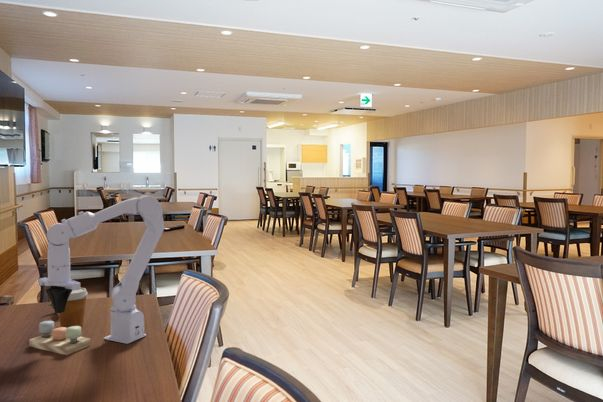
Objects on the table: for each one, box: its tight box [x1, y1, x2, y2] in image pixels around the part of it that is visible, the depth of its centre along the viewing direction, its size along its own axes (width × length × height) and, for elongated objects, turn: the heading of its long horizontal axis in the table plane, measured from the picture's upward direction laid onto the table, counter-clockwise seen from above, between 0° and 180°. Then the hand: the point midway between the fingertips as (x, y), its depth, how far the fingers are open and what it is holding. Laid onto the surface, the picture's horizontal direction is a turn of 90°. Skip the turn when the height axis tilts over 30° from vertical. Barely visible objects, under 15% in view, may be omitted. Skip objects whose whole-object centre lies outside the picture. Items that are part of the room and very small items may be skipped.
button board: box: [28, 332, 92, 356], centre depth 130 cm, size 15×8×2 cm, turn 66°
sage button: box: [66, 326, 82, 344], centre depth 128 cm, size 4×4×4 cm
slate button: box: [38, 320, 55, 338], centre depth 132 cm, size 4×4×4 cm
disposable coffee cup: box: [58, 287, 89, 328], centre depth 146 cm, size 10×10×12 cm
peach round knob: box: [52, 326, 66, 341], centre depth 130 cm, size 4×4×4 cm
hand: (59, 312), depth 130 cm, fingers closed
